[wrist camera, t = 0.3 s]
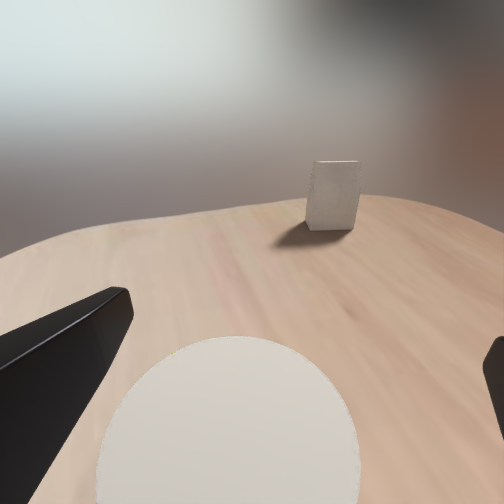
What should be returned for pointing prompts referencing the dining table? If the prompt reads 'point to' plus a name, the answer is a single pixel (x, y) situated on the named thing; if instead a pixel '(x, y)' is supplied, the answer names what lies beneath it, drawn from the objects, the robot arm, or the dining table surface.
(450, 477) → the dining table surface
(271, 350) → the white cylinder
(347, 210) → the light grey box
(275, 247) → the dining table surface
